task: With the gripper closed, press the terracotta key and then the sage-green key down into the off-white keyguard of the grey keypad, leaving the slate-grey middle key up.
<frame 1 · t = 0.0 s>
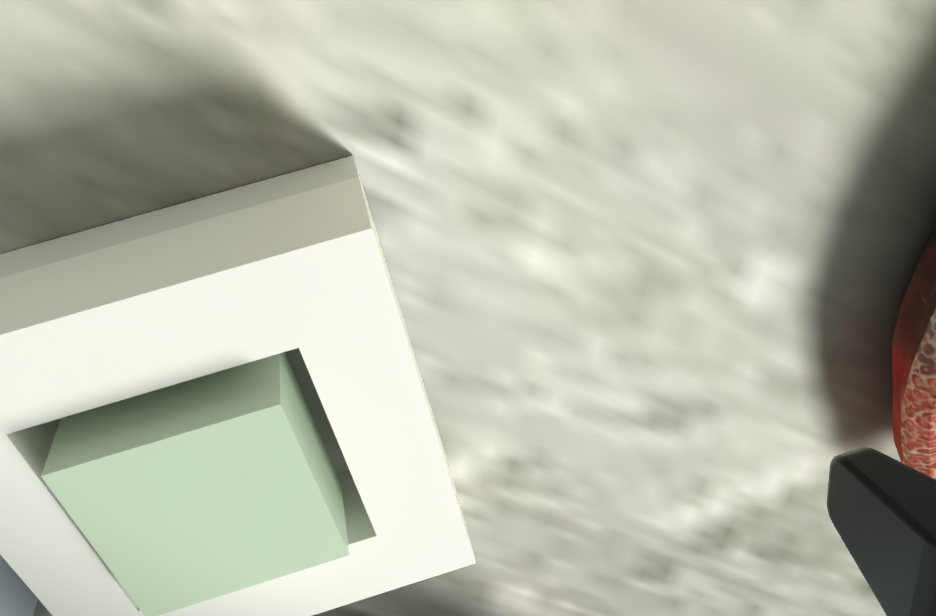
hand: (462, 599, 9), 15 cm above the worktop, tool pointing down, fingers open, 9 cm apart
sage key: (212, 481, 21), point 4 cm above the worktop, slide at 0.0 cm
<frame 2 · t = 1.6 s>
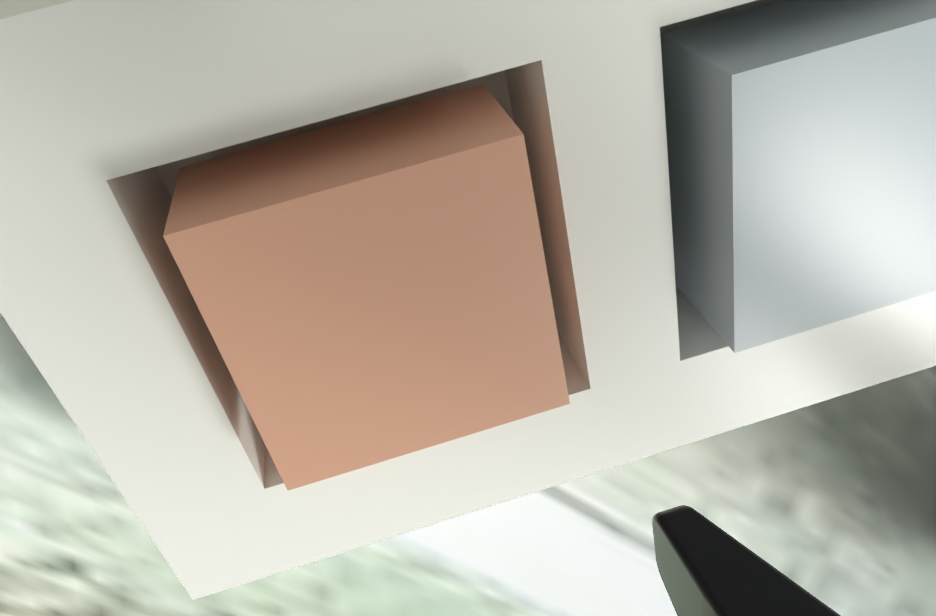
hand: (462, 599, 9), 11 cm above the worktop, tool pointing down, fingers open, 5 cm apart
slate key: (834, 158, 15), point 4 cm above the worktop, slide at 0.0 cm
keypad: (728, 94, 18), on the worktop
terracotta key: (383, 291, 14), point 4 cm above the worktop, slide at 0.0 cm
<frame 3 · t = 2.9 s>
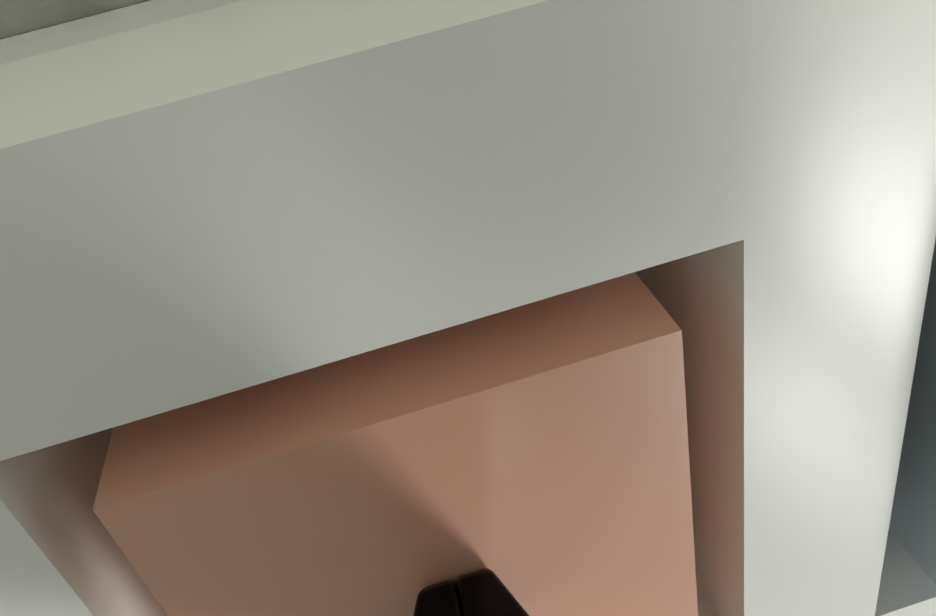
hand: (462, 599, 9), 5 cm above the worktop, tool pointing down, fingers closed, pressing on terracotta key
keypad: (913, 205, 13), on the worktop
terracotta key: (436, 510, 10), point 3 cm above the worktop, slide at 0.9 cm, touching gripper
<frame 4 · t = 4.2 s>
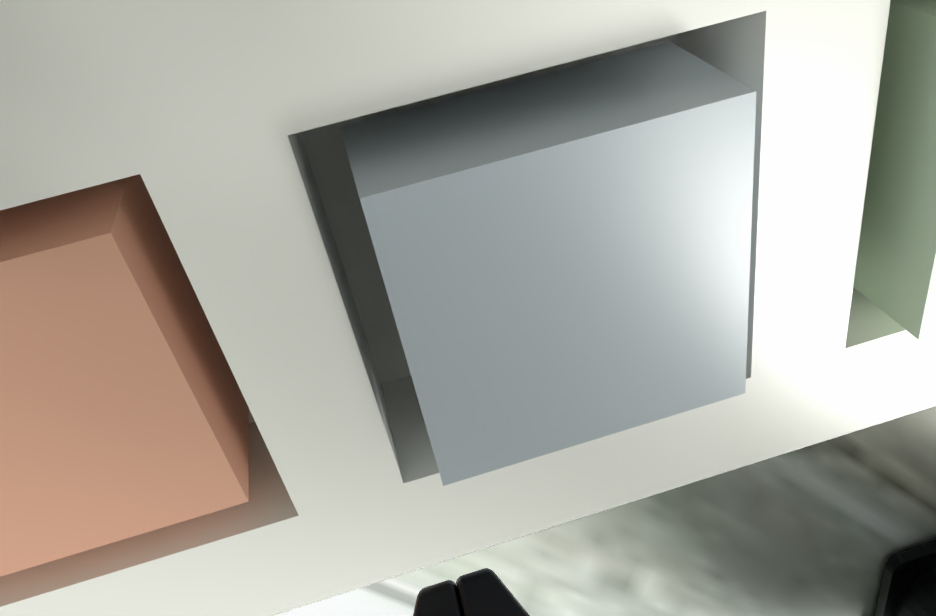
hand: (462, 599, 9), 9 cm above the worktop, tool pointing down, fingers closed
slate key: (554, 267, 13), point 4 cm above the worktop, slide at 0.0 cm
keypad: (491, 171, 16), on the worktop
terracotta key: (29, 382, 13), point 3 cm above the worktop, slide at 1.0 cm
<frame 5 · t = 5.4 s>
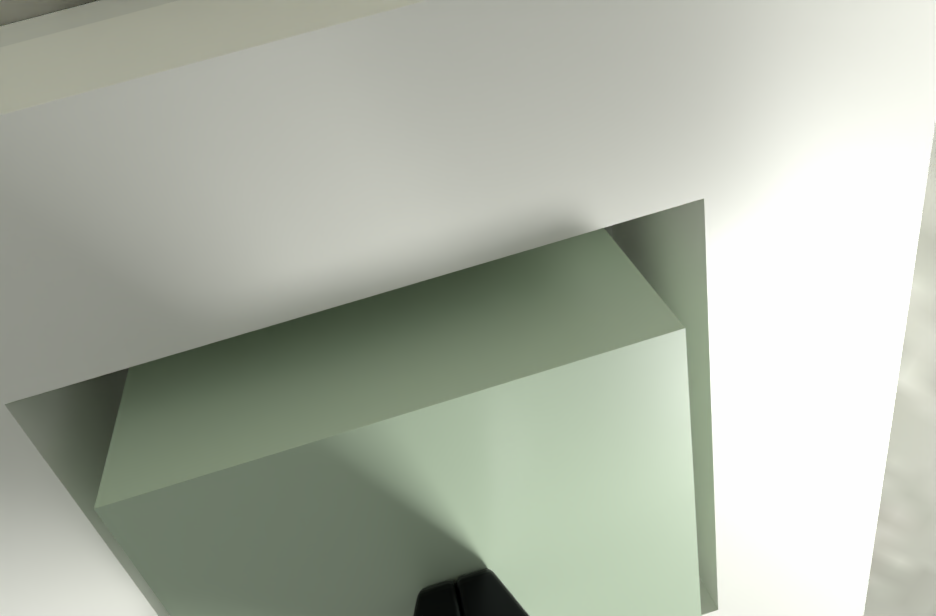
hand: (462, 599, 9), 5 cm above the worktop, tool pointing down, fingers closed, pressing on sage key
sage key: (438, 509, 10), point 4 cm above the worktop, slide at 0.0 cm, touching gripper
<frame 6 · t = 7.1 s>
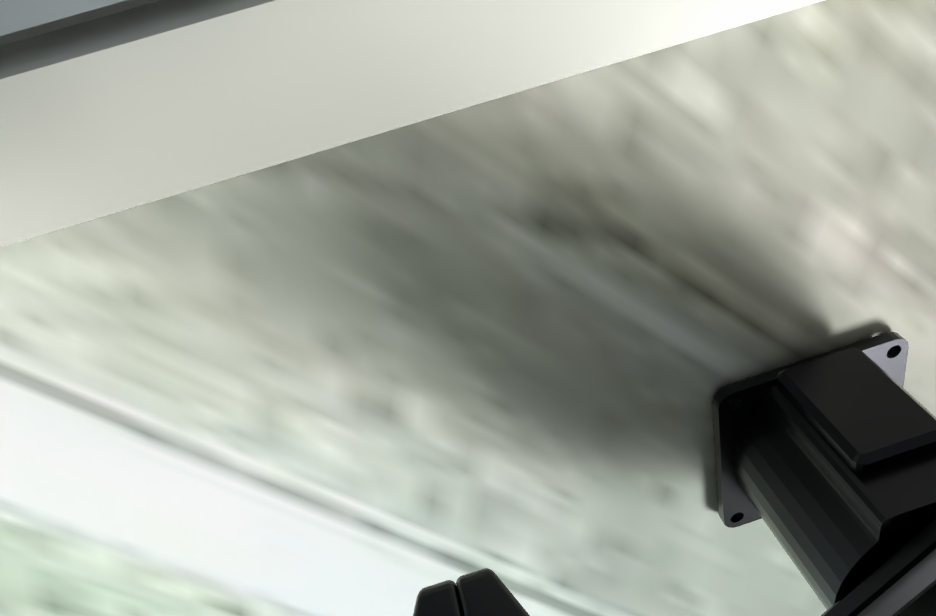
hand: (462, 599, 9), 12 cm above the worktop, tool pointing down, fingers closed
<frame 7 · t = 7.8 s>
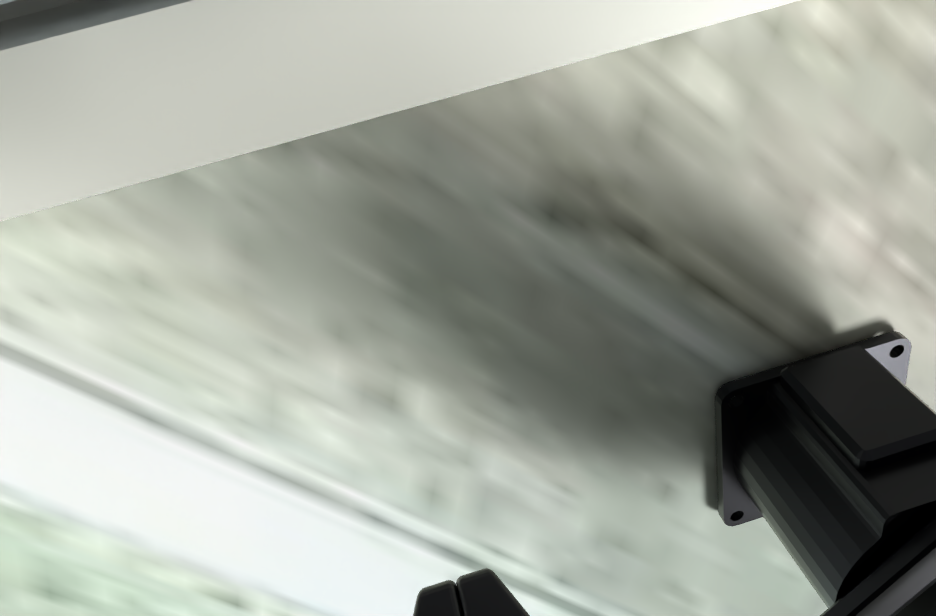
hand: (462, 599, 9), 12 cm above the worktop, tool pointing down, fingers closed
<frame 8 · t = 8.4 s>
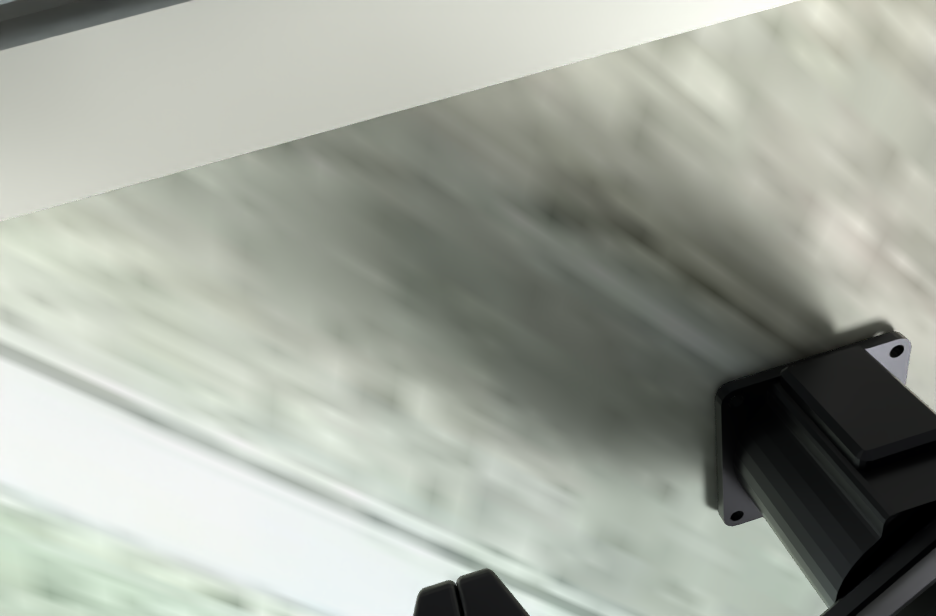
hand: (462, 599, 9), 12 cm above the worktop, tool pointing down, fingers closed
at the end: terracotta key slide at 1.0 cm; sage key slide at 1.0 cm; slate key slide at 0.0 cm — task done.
